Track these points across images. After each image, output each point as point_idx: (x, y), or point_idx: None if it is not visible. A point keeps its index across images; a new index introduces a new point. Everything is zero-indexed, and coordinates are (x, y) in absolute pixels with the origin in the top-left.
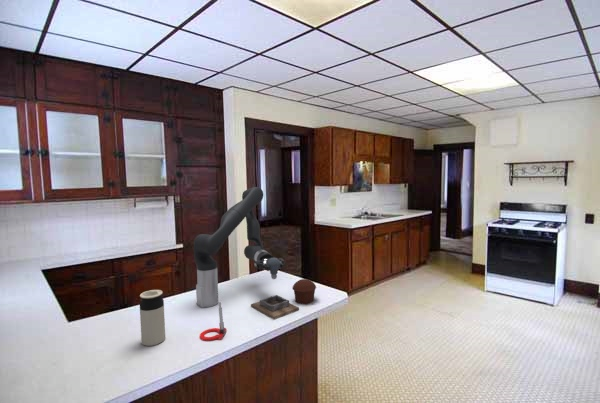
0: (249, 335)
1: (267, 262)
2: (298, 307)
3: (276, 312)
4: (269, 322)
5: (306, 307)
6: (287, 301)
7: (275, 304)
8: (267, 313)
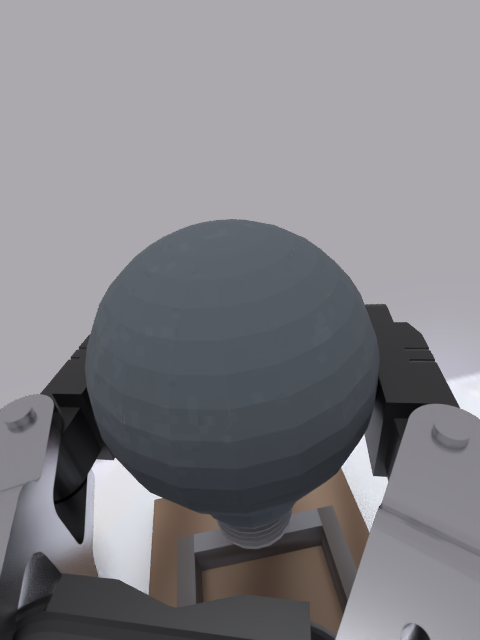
0: (473, 396)
1: (373, 331)
2: (156, 501)
3: (305, 506)
4: (367, 455)
5: (99, 519)
6: (193, 535)
7: (296, 526)
8: (365, 524)
